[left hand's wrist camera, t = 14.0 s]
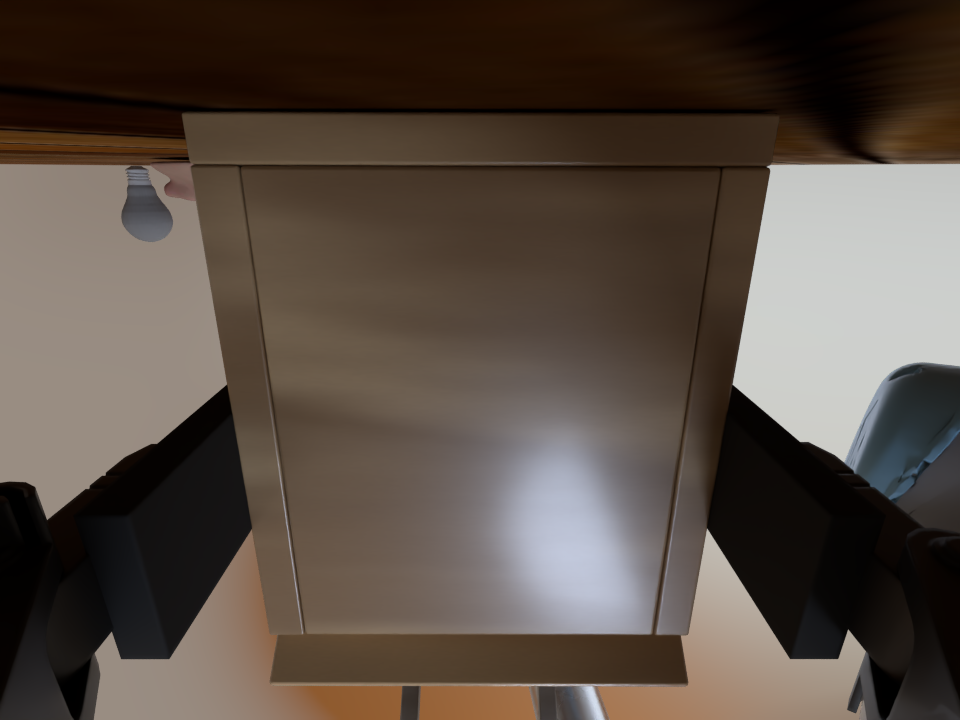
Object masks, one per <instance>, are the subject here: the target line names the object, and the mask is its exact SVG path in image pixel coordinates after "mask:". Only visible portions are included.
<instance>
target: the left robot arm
mask: <svg viewBox="0 0 960 720" xmlns="http://www.w3.org/2000/svg"><path fill="white" fill-rule="evenodd" d="M251 529H252V525H251V519H250V513H249V507H248V501H247V496H246V490H245V484H244V478H243V473H242V467H241V461H240V455H239V450H238V444H237V438H236V432H235V426H234V421H233V415H232V409H231V403H230V398H229V392H228V386H227V385H226V386H225V387H224V388H222V389H221V390H220V391H219V392H218V393H217V394H215V395H214V396H213V397H212V398H211V399H210V400H208V401H207V402H206V403H205V404H204V405H202V406H201V407H200V408H199V409H198V410H197V411H195V412H194V413H193V414H192V415H191V416H189V417H188V418H187V419H186V420H185V421H184V422H182V423H181V424H180V425H179V426H178V427H177V428H175V429H174V430H173V431H172V432H171V433H169V434H168V435H167V436H166V437H165V438H164V439H162V440H161V441H160V442H159V443H158V444H150V445H148V446H146V447H144V448H142V449H140V450H138V451H136V452H134V453H132V454H131V455H128V456H126V457H125V458H123V459H122V460H121V461H120V462H119V463H117V464H116V465H115V466H114V467H112V468H111V469H110V470H109V471H107V472H106V476H101V477H100V478H99V479H97V480H96V481H95V482H94V483H93V484H91V485H90V488H89V489H85V490H84V491H83V492H81V493H80V494H79V495H78V496H76V497H75V498H74V499H73V500H72V501H70V502H69V503H68V504H67V505H65V506H64V507H63V508H62V509H60V510H59V511H58V512H57V513H55V514H54V515H53V516H52V517H51V518H49V519H48V520H47V519H46V516H45V513H44V510H43V508H42V505H41V502H40V499H39V497H38V494H37V491H36V488H35V487H34V486H32V485H30V484H28V483H26V482H3V483H0V720H94V713H95V706H96V700H97V693H98V686H99V680H100V671H99V665H98V662H97V659H96V656H95V652H96V650H97V649H98V648H99V647H100V645H101V644H102V643H103V642H104V640H105V639H106V638H107V637H108V635H109V634H110V633H111V632H112V633H113V636H114V639H115V642H116V645H117V648H118V651H119V654H120V657H121V659H170V657H171V656H172V654H173V652H174V651H175V649H176V648H177V646H178V645H179V643H180V641H181V640H182V638H183V637H184V635H185V633H186V632H187V630H188V629H189V627H190V626H191V624H192V622H193V621H194V619H195V618H196V616H197V615H198V613H199V611H200V610H201V608H202V607H203V605H204V604H205V602H206V600H207V599H208V597H209V596H210V594H211V593H212V591H213V589H214V588H215V586H216V585H217V583H218V581H219V580H220V578H221V577H222V575H223V574H224V572H225V570H226V569H227V567H228V566H229V564H230V563H231V561H232V559H233V558H234V556H235V555H236V553H237V552H238V550H239V548H240V547H241V545H242V544H243V542H244V541H245V539H246V537H247V536H248V534H249V533H250V531H251ZM707 529H708V530H709V532H710V533H711V535H712V537H713V538H714V540H715V541H716V543H717V544H718V546H719V548H720V549H721V551H722V552H723V554H724V555H725V557H726V559H727V560H728V562H729V563H730V565H731V567H732V568H733V570H734V571H735V573H736V574H737V576H738V577H739V579H740V581H741V582H742V584H743V585H744V587H745V589H746V590H747V592H748V593H749V595H750V596H751V598H752V600H753V601H754V603H755V604H756V606H757V607H758V609H759V611H760V612H761V614H762V615H763V617H764V618H765V620H766V622H767V623H768V625H769V626H770V628H771V630H772V631H773V633H774V634H775V636H776V637H777V639H778V641H779V642H780V644H781V645H782V647H783V649H784V650H785V652H786V653H787V655H788V656H789V658H790V659H838V658H839V655H840V652H841V649H842V646H843V643H844V640H845V637H846V634H847V631H848V629H849V631H850V632H851V633H852V634H853V636H854V637H855V638H856V639H857V641H858V642H859V643H860V644H861V646H862V647H863V648H864V649H865V651H866V653H865V656H864V659H863V662H862V664H861V667H860V670H859V673H858V676H857V678H856V681H855V684H854V687H853V690H852V692H851V695H850V698H849V703H848V709H847V710H849V711H851V712H854V713H856V712H857V709H858V706H859V704H860V702H861V701H862V705H861V712H860V718H859V720H960V366H952V365H943V364H934V363H913V364H908V365H905V366H902V367H900V368H898V369H896V370H894V371H893V372H891V373H890V374H889V375H888V376H887V377H886V378H885V379H884V380H883V382H882V383H881V385H880V386H879V388H878V390H877V391H876V393H875V395H874V397H873V399H872V401H871V403H870V405H869V407H868V409H867V411H866V413H865V415H864V418H863V420H862V422H861V424H860V427H859V429H858V431H857V433H856V436H855V438H854V441H853V443H852V445H851V448H850V450H849V453H848V455H847V458H846V460H845V462H843V461H841V460H840V459H839V458H838V457H836V456H835V455H833V454H831V453H829V452H827V451H825V450H823V449H821V448H819V447H817V446H815V445H813V444H811V443H809V442H799V441H798V440H797V439H796V438H795V437H794V436H792V435H791V434H790V433H789V432H788V431H786V430H785V429H784V428H783V427H782V426H781V425H779V424H778V423H777V422H776V421H775V420H773V419H772V418H771V417H770V416H769V415H768V414H766V413H765V412H764V411H763V410H762V409H761V408H759V407H758V406H757V405H756V404H755V403H753V402H752V401H751V400H750V399H749V398H748V397H746V396H745V395H744V394H743V393H742V392H741V391H739V390H738V389H737V388H736V387H735V386H733V385H732V390H731V395H730V401H729V407H728V412H727V417H726V423H725V429H724V434H723V440H722V446H721V452H720V457H719V463H718V469H717V474H716V480H715V486H714V491H713V497H712V503H711V508H710V514H709V520H708V525H707Z"/></svg>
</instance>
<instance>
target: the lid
mask: <svg viewBox="0 0 960 720" xmlns="http://www.w3.org/2000/svg"><path fill="white" fill-rule="evenodd" d="M270 684H271V685H273V686H274V685H275V686H402V700H401V715H400V720H419V710H420V689H421V686H537V696H538V720H557V707H556V690H555V686H660V687H666V686H667V687H685V686H687V685H688V678H687V672H686V665H685V659H684V653H683V647H682V641H681V635H655V634H654V633H652V634H651V635H461V634H307V633H306V632H305V633H304V634H303V635H277V641H276V647H275V653H274V659H273V665H272V671H271V677H270Z"/></svg>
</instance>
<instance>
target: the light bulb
mask: <svg viewBox="0 0 960 720" xmlns="http://www.w3.org/2000/svg"><path fill="white" fill-rule="evenodd" d="M126 171H127V173H126V174H128V176H127V177H128V178H129V179H128V187H127V199H126V202H125V205H124V207H123V210H122V223H123V225H124V227H125V228H126V230H127V231H128V232H129V233H130V234H131V235H133V236H134V237H135V238H137V239H139V240H143V241H148V242H155V241H159V240H161V239H163V238H165V237H166V236H167V235H168V234H169V233H170V231H171V229H172V225H173V219H172V216H171V214H170V212H169V210H168V209H167V207H166V206H165V205H164V204H163V203H162V201H161V200H160V199H159V197H158V196H157V194H156V191H155V189H154V187H153V186H152V184H151V181H150V180H149V178H148V173H147V172H148V169H145V168H143V167H142V166H130V167H129V168H127V169H126Z"/></svg>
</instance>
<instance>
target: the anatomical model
mask: <svg viewBox="0 0 960 720" xmlns="http://www.w3.org/2000/svg"><path fill="white" fill-rule="evenodd" d="M150 165H151V166H152V167H153V168H155V169H156V170H158V171H159V172H161V173H163V174H165V175H167V176H168V177H169V178H170V182H169V183H167V184H166V185H165V187H164V191H165V193H166V195H168V196H170V197H175V198H182V199H186V200H191V201H196V198H195V192H194V187H193V181H192V175H191V169H190V168H191V166H192V165H194V164H192V163H191V162H190V161H170V162H152V163H150Z"/></svg>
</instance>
